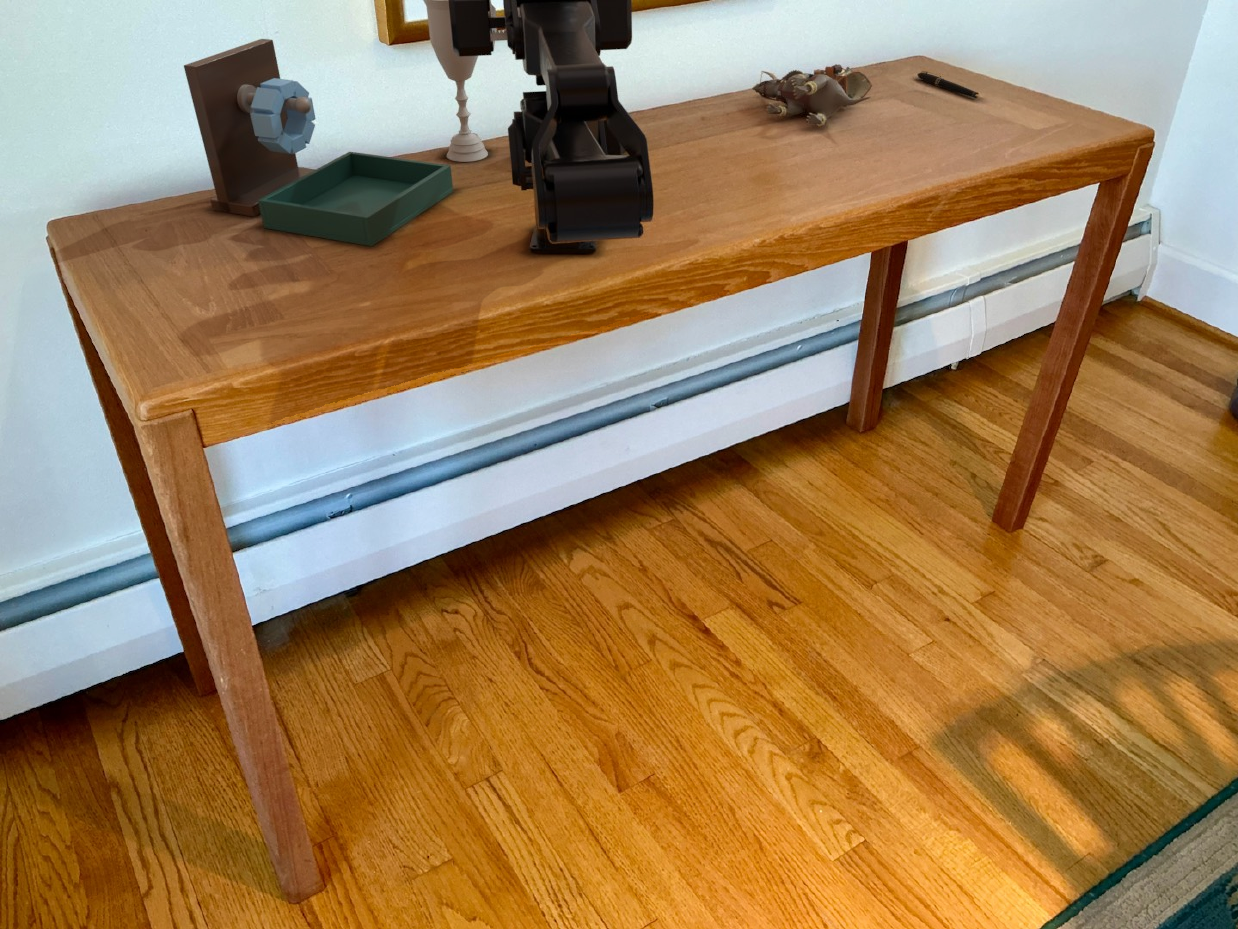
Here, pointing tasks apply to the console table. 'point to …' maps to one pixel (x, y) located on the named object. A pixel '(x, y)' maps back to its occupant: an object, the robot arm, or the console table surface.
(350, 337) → the console table surface
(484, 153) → the chalice
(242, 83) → the hook rack
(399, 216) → the tray
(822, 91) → the figurine
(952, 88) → the fountain pen
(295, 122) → the blue segmented ring
